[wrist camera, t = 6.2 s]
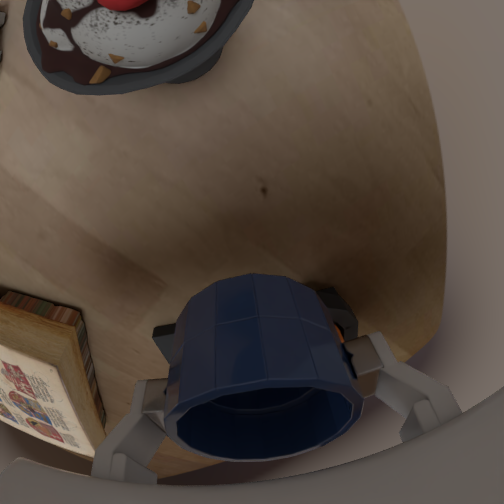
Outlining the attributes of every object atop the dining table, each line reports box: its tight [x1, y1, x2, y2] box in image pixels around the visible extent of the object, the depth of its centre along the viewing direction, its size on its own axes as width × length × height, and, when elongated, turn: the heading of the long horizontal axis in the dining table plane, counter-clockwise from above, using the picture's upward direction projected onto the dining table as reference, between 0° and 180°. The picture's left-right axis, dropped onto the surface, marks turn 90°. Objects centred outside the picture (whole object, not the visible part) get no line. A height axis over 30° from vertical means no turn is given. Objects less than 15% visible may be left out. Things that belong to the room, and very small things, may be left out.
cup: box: [163, 273, 364, 462], centre depth 10 cm, size 6×6×5 cm
